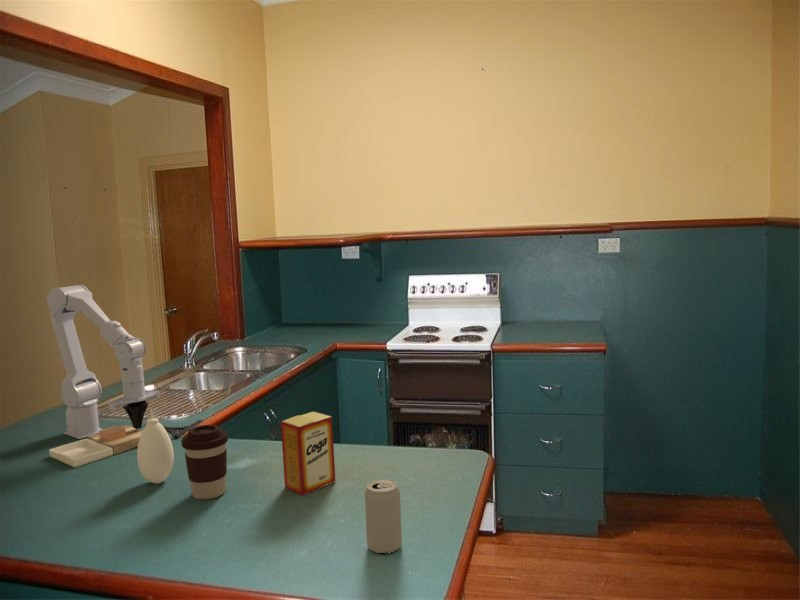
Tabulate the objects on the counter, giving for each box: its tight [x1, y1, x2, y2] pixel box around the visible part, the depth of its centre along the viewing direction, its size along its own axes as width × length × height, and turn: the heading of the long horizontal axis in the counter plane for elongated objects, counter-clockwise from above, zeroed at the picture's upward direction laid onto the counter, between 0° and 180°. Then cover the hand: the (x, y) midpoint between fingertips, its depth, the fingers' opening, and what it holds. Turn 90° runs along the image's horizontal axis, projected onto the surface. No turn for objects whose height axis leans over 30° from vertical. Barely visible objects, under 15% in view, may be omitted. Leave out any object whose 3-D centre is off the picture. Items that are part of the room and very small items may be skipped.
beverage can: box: [364, 478, 403, 554], centre depth 116 cm, size 6×6×12 cm
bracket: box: [143, 419, 203, 439], centre depth 189 cm, size 14×15×3 cm
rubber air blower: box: [136, 408, 175, 485], centre depth 150 cm, size 8×8×18 cm
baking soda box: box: [280, 411, 336, 496], centre depth 145 cm, size 10×6×16 cm
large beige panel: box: [87, 424, 143, 456], centre depth 179 cm, size 14×12×2 cm
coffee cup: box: [180, 424, 229, 501], centre depth 142 cm, size 10×10×15 cm
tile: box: [99, 425, 126, 442], centre depth 177 cm, size 5×5×2 cm
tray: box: [48, 438, 114, 469], centre depth 170 cm, size 14×10×2 cm
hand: (137, 427), depth 182 cm, fingers closed
